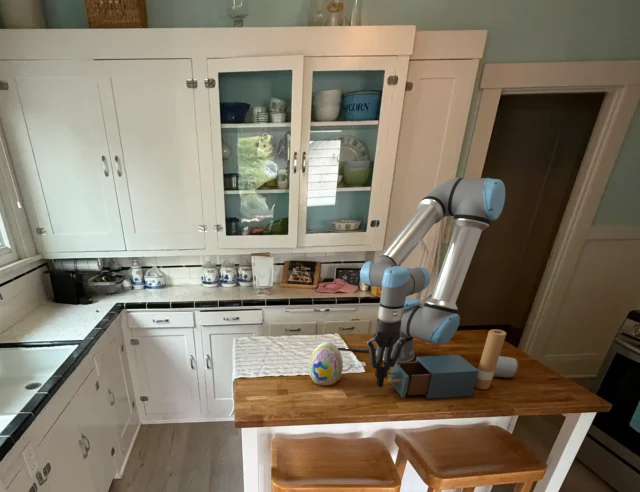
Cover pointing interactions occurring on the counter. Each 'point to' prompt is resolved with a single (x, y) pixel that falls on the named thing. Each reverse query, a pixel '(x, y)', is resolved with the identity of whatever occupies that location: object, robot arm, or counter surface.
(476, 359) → the counter surface
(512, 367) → the ceramic mug
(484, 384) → the paper roll
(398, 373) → the drawer
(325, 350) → the decorative egg
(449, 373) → the cabinet
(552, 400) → the counter surface
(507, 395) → the counter surface
